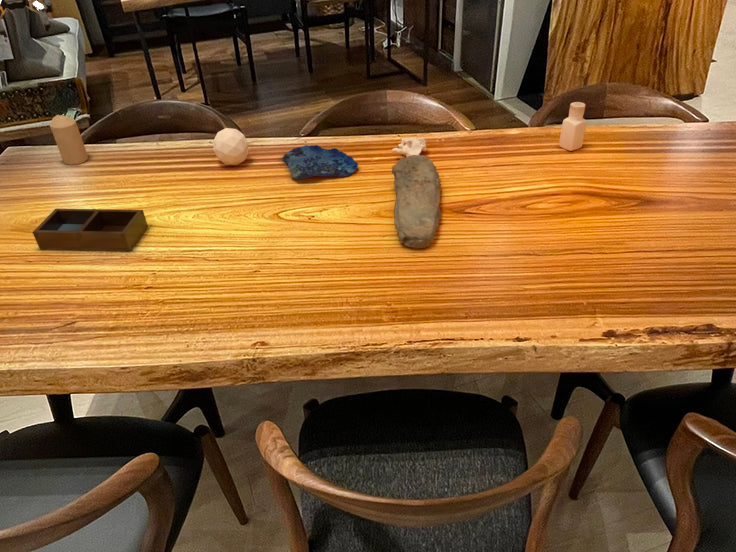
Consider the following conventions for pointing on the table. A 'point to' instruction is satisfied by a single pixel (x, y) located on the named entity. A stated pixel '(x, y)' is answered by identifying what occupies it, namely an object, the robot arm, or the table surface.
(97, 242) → the box
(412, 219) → the long grey stone
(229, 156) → the geometric ball
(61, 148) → the candle
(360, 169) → the table surface
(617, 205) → the table surface
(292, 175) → the rock
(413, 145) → the pelvis model
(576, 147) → the pepper shaker
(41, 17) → the robot arm
